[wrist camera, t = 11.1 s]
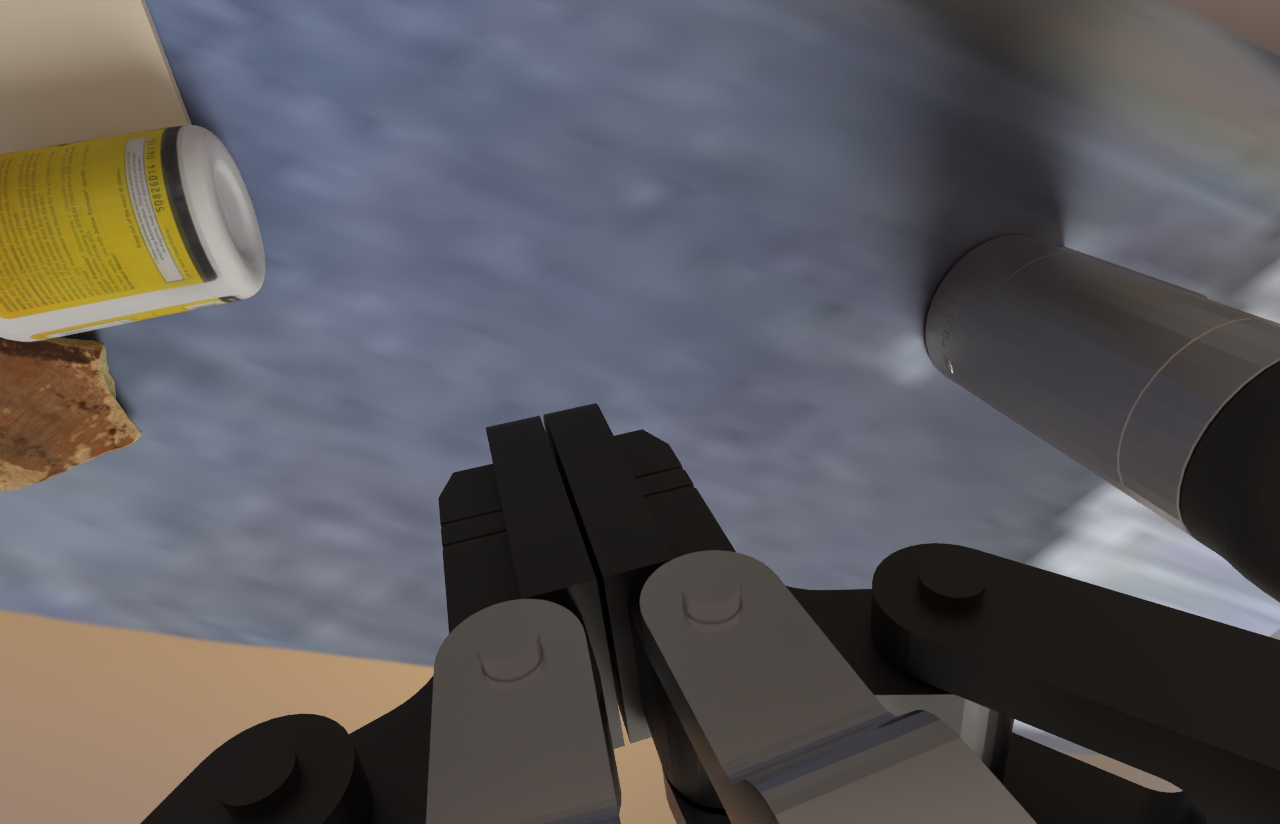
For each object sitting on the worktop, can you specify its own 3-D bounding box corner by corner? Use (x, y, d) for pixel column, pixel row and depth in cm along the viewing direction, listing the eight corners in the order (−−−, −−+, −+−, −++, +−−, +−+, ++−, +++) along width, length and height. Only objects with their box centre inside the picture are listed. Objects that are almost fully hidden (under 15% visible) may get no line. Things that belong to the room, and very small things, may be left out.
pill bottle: (185, 90, 26) (-214, 149, 24) (232, 279, 26) (-161, 354, 24) (246, 156, 33) (-67, 207, 31) (283, 308, 33) (-25, 369, 31)
